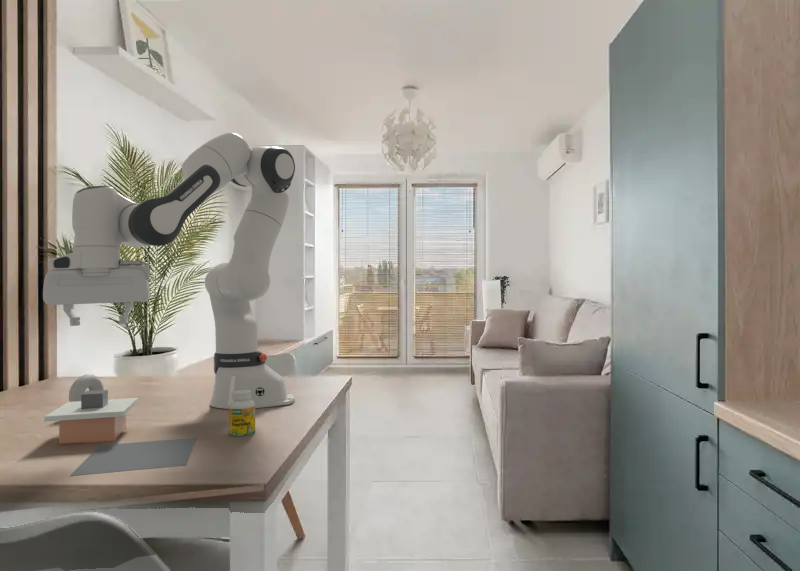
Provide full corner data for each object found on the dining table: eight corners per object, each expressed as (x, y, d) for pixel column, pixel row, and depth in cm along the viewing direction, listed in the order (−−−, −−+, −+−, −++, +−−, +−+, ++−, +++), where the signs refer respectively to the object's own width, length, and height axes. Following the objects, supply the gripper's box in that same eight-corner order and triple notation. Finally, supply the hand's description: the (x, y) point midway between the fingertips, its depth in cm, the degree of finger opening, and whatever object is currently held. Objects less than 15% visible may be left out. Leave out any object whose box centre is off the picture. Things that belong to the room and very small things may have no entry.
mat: (196, 441, 110) (196, 437, 110) (186, 469, 93) (186, 465, 93) (99, 449, 105) (99, 445, 105) (69, 480, 88) (69, 475, 88)
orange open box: (126, 431, 118) (125, 404, 118) (114, 444, 109) (114, 414, 109) (75, 435, 116) (75, 407, 116) (59, 448, 106) (59, 418, 106)
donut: (77, 418, 132) (76, 377, 132) (65, 417, 132) (64, 377, 132) (107, 409, 141) (106, 371, 141) (95, 408, 142) (95, 371, 142)
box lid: (138, 402, 121) (138, 384, 121) (123, 416, 107) (123, 396, 107) (68, 406, 117) (68, 388, 117) (44, 421, 104) (44, 401, 104)
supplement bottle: (255, 432, 117) (255, 388, 117) (254, 439, 111) (254, 393, 111) (230, 434, 115) (229, 389, 115) (227, 441, 110) (227, 394, 110)
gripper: (152, 260, 121) (154, 321, 121) (49, 262, 116) (52, 325, 116) (147, 259, 115) (149, 323, 115) (38, 261, 110) (41, 328, 110)
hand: (99, 324), depth 116 cm, fingers open, 8 cm apart
